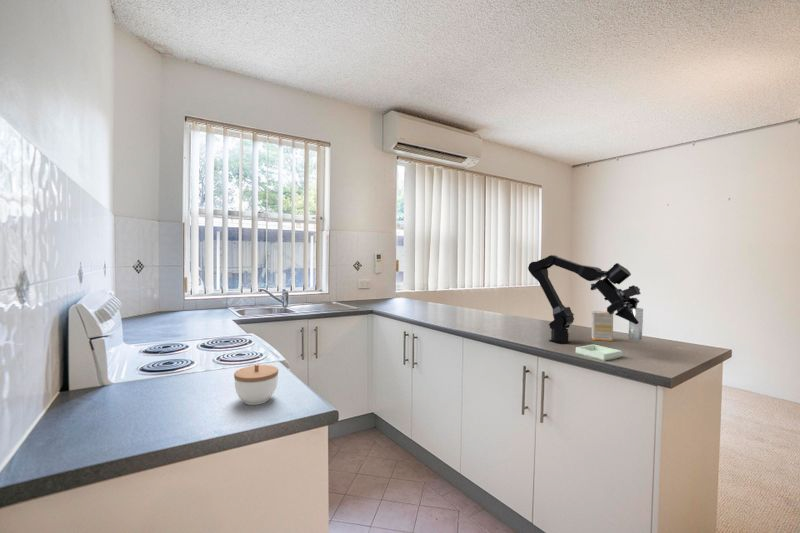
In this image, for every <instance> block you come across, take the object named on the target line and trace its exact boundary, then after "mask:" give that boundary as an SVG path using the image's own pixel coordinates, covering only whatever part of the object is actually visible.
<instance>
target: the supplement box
mask: <svg viewBox="0 0 800 533" xmlns="http://www.w3.org/2000/svg"><path fill="white" fill-rule="evenodd" d="M591 339H592V340H593V341H601V342H602V341H603V342H613V341H614V340H613V339H614V314H611V315H610V314H609V313H608V312H607V311H599V310H598V311H597V310H596V311H595V310H592V311H591Z"/></svg>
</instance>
